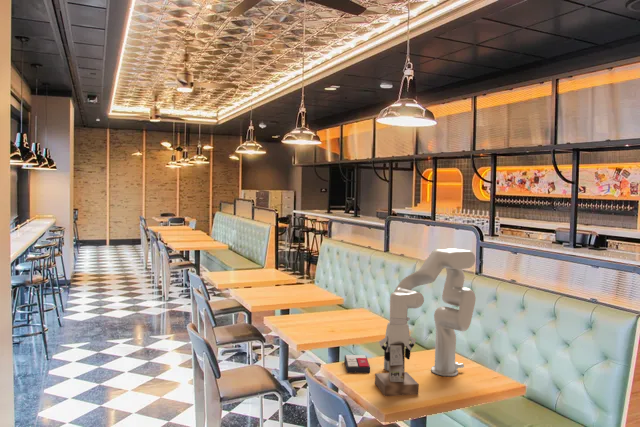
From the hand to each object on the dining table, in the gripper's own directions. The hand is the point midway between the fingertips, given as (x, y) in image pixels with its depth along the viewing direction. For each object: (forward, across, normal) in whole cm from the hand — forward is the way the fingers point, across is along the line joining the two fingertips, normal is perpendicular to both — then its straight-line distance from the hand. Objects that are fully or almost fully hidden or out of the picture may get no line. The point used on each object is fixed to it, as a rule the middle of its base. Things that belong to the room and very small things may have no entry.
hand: (397, 359), depth 211 cm
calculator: (+14, +7, -29) cm, 33 cm away
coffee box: (+9, 0, 0) cm, 9 cm away
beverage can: (+13, -9, -22) cm, 27 cm away
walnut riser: (+14, 0, 0) cm, 14 cm away
